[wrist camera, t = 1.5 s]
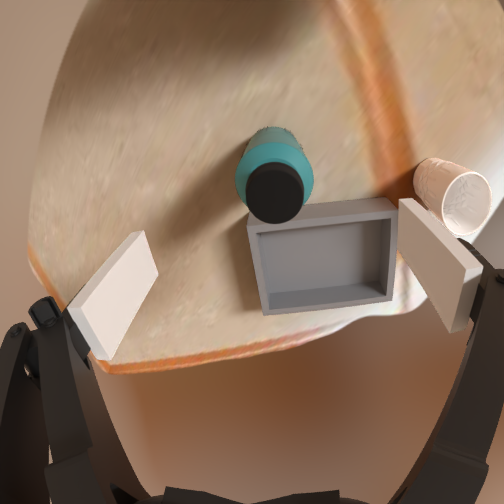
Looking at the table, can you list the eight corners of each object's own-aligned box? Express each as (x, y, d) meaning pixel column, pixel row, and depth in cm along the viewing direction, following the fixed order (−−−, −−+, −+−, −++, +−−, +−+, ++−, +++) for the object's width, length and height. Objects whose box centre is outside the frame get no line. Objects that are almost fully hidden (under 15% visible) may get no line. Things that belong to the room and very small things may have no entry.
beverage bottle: (242, 129, 36) (211, 161, 19) (295, 119, 35) (315, 141, 18) (254, 177, 39) (235, 251, 22) (304, 168, 38) (329, 236, 21)
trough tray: (249, 211, 41) (246, 226, 37) (386, 196, 39) (398, 210, 34) (264, 295, 48) (263, 315, 44) (382, 281, 45) (391, 300, 41)
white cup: (458, 195, 37) (494, 222, 29) (416, 213, 40) (447, 245, 31) (447, 146, 34) (487, 163, 25) (402, 163, 36) (435, 185, 28)
